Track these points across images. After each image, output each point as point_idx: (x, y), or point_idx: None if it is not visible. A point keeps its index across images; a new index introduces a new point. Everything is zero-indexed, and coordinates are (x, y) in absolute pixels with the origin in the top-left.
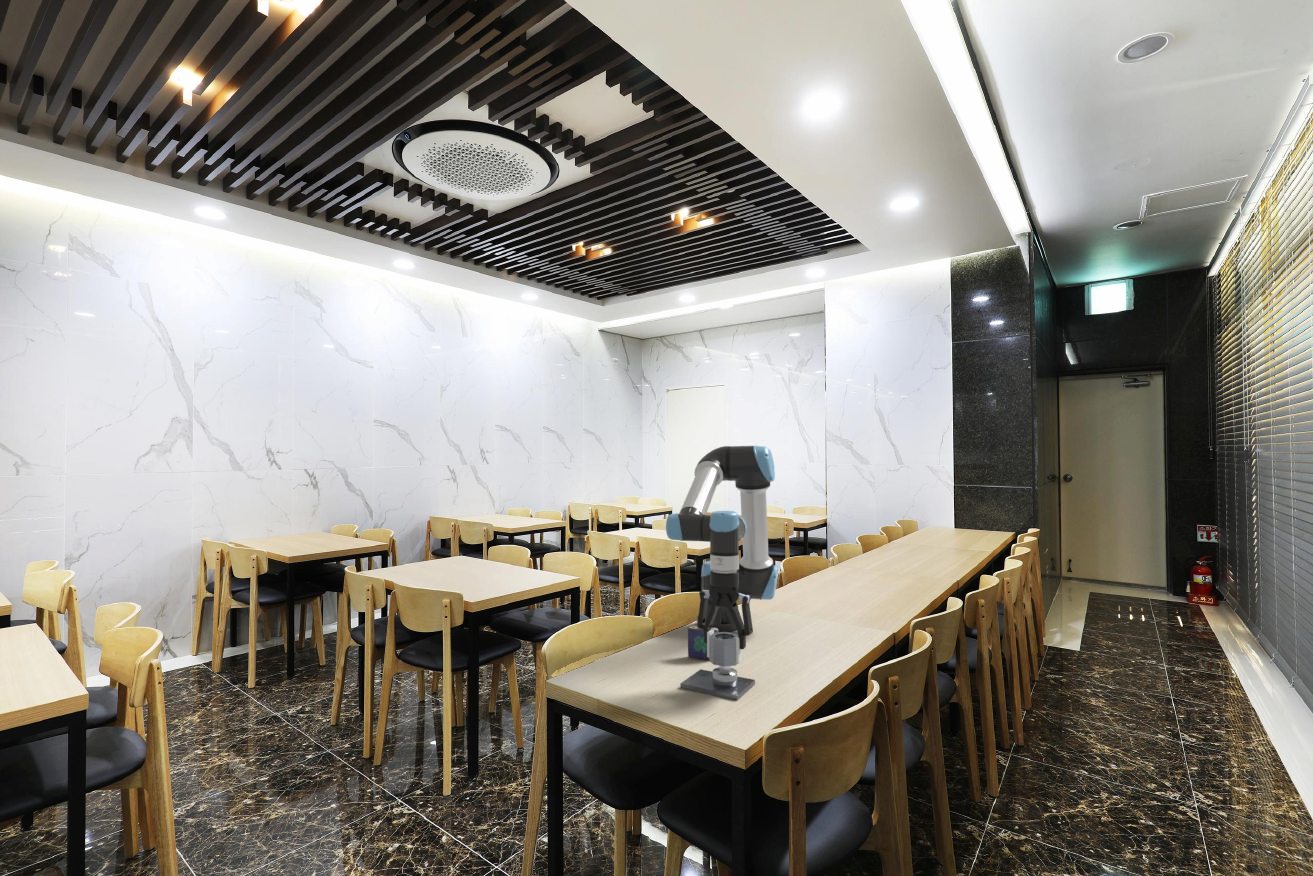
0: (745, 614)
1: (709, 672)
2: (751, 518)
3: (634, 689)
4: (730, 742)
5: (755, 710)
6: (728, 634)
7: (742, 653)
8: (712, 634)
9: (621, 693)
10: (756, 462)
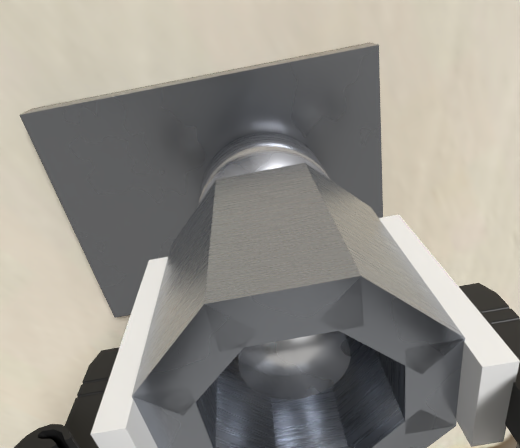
0: None
1: (99, 124)
2: None
3: (14, 400)
4: (467, 444)
5: (470, 282)
6: (293, 334)
7: (419, 241)
8: (167, 441)
9: (19, 436)
10: None
